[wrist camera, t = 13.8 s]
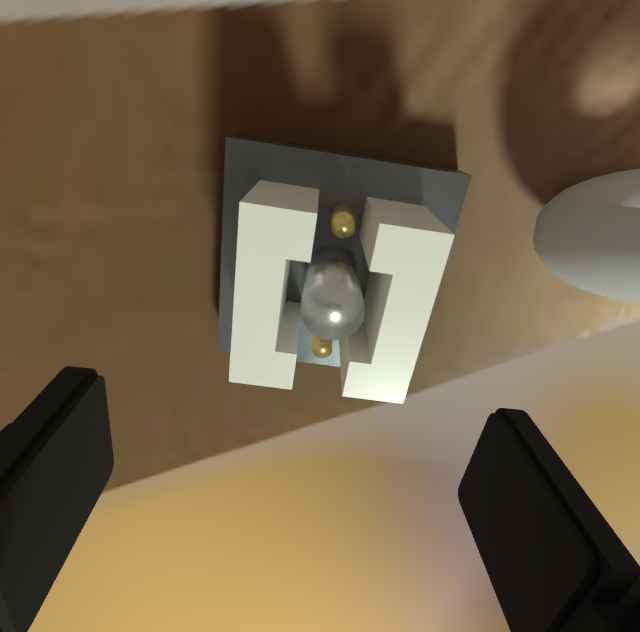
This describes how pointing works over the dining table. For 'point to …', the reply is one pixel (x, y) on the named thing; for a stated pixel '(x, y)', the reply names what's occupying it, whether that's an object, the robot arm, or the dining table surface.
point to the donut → (594, 235)
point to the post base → (326, 229)
